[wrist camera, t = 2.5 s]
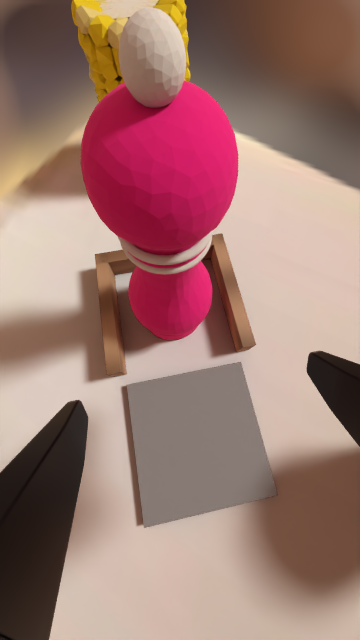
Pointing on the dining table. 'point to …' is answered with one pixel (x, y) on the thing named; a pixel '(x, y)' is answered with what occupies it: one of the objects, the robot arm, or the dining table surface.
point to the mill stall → (120, 263)
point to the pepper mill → (160, 174)
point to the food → (116, 34)
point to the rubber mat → (197, 444)
